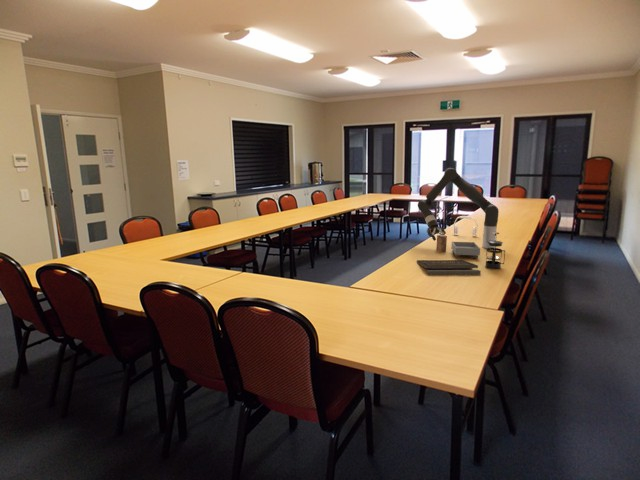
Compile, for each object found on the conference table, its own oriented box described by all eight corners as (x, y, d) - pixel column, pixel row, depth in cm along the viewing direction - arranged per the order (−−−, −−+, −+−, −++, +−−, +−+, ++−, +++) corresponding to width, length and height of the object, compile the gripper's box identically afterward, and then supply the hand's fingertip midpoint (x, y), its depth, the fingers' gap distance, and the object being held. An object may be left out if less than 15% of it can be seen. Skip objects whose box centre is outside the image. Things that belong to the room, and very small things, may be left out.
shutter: (416, 270, 279) (428, 278, 248) (416, 260, 278) (428, 266, 247) (463, 267, 278) (481, 275, 247) (463, 257, 278) (481, 263, 247)
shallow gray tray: (473, 252, 302) (474, 242, 300) (479, 259, 283) (480, 248, 281) (451, 252, 305) (451, 241, 303) (455, 258, 285) (456, 247, 284)
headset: (452, 235, 365) (453, 215, 361) (453, 234, 371) (455, 214, 368) (476, 237, 357) (477, 217, 353) (477, 235, 363) (478, 216, 359)
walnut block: (441, 250, 311) (442, 234, 308) (445, 251, 306) (446, 235, 304) (436, 250, 309) (437, 235, 307) (440, 252, 305) (441, 236, 302)
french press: (483, 268, 262) (486, 233, 257) (484, 264, 270) (487, 230, 265) (503, 270, 257) (506, 234, 252) (503, 266, 265) (507, 231, 261)
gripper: (425, 220, 311) (434, 237, 303) (441, 218, 316) (450, 236, 307) (421, 225, 317) (429, 243, 309) (437, 224, 322) (445, 241, 313)
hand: (439, 239), depth 308 cm, fingers open, 8 cm apart
